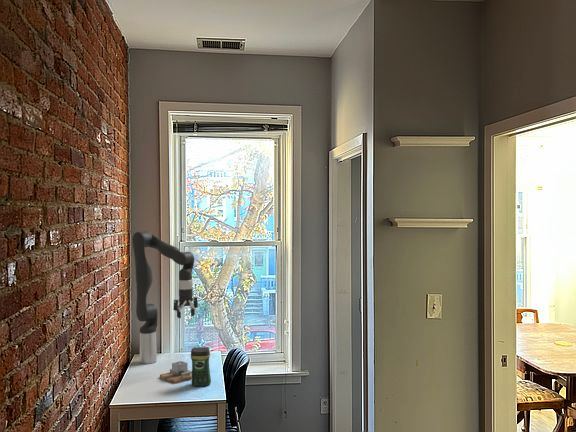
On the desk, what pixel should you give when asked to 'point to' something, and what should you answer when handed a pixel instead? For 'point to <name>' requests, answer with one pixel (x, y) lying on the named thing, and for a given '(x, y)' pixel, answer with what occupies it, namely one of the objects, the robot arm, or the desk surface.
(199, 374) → the coffee jar
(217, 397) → the desk surface
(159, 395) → the desk surface
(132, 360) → the desk surface
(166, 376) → the stand
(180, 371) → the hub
